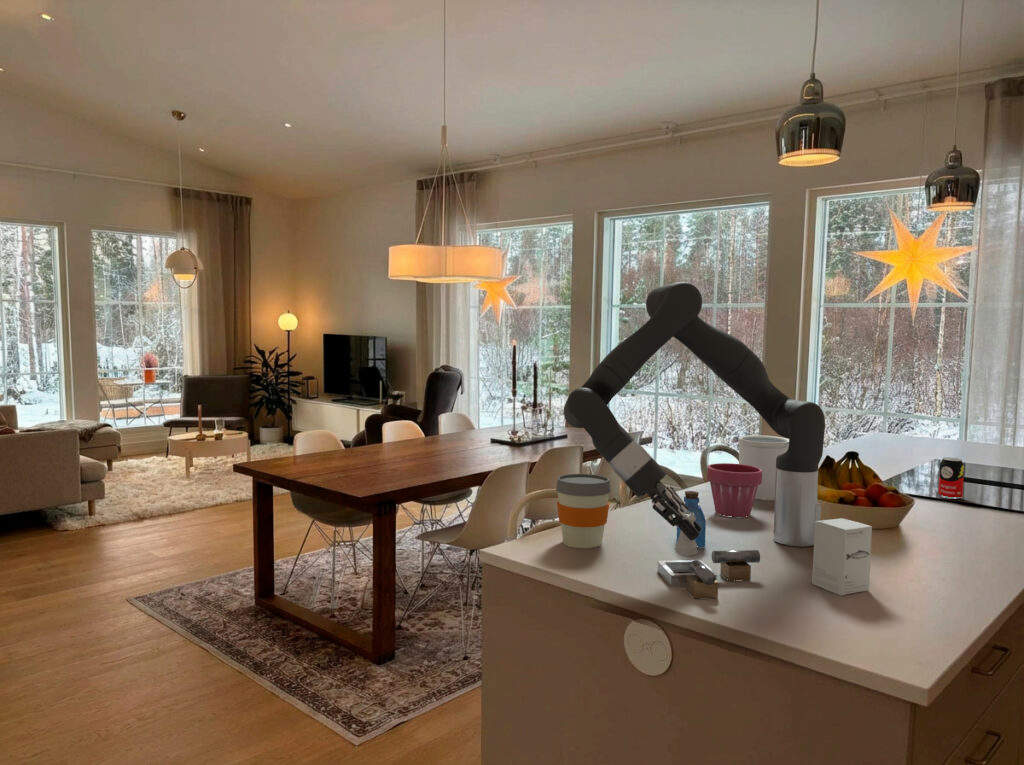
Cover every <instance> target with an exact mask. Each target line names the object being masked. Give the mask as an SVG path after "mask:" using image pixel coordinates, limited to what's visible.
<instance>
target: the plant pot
mask: <svg viewBox="0 0 1024 765" xmlns="http://www.w3.org/2000/svg"><path fill="white" fill-rule="evenodd" d="M706 471H707V472H706V479H707V481H709V484H710V489H711V494H712V500H713V501H712V502H713V505H714V512H715V514H716V513H718V514H721V515H725V516H732V517H745V518H747V517H746V516H749V517H750V516H751V513H752V509H753V507H754V503H755V500H756V499H755V496H756V492H757V488H758V485H760V484H761V483H762V470H761V469H760V468H758V467H754V466H750V465H744V464H739V463H732V462H731V463H728V462H727V463H725V462H724V463H723V462H721V463H711V464H708V465H707V468H706ZM718 514H717V515H718ZM721 515H720V516H721ZM725 516H724V517H725Z"/></svg>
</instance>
